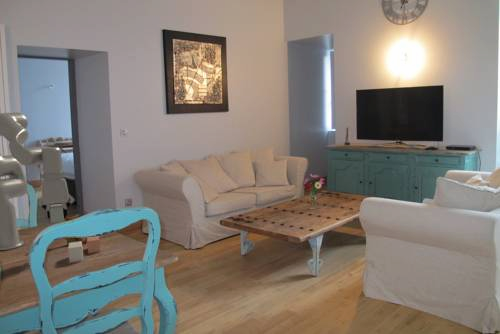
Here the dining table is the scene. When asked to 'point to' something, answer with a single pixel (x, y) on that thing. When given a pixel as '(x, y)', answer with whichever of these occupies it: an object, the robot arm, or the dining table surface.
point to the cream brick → (75, 251)
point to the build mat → (77, 261)
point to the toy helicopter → (70, 240)
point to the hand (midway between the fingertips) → (57, 218)
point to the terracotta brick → (93, 244)
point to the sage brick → (56, 213)
